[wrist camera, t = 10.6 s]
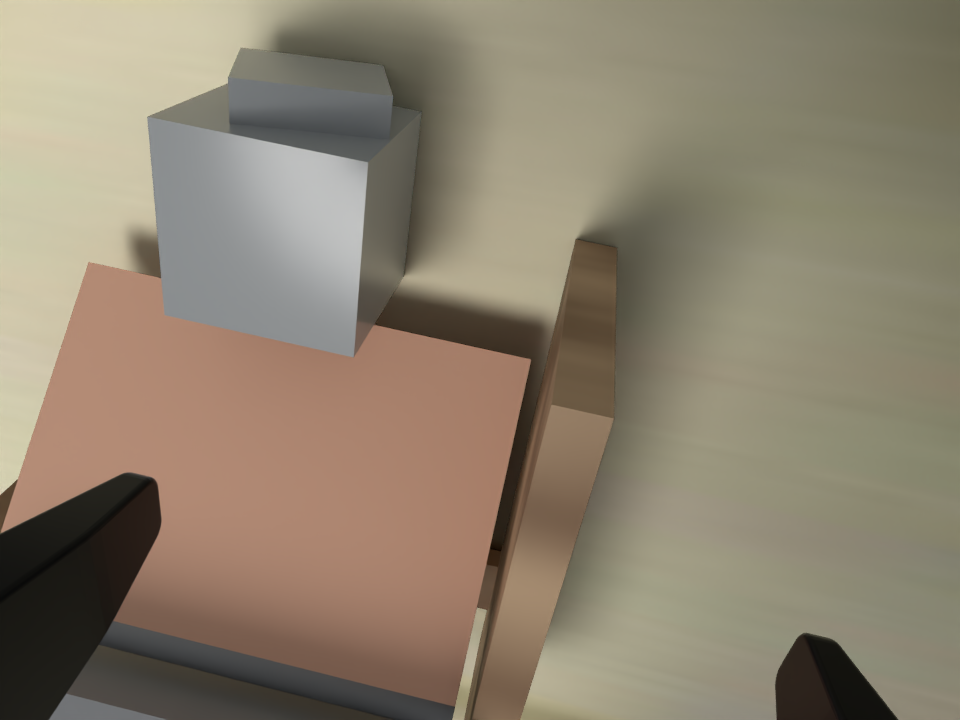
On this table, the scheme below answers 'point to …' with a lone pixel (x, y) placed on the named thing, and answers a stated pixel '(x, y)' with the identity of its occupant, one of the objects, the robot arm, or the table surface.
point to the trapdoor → (277, 510)
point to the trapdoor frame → (544, 487)
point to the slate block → (285, 199)
